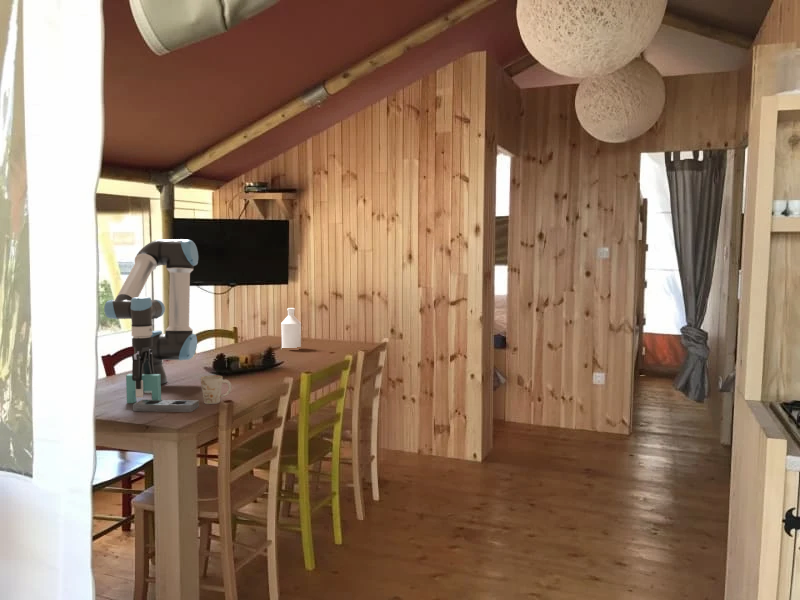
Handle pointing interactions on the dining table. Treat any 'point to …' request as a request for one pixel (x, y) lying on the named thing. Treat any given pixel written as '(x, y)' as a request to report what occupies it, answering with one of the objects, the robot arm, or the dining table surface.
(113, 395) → the dining table surface
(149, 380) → the panel
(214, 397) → the mug
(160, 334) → the robot arm
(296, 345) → the bottle
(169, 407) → the block
